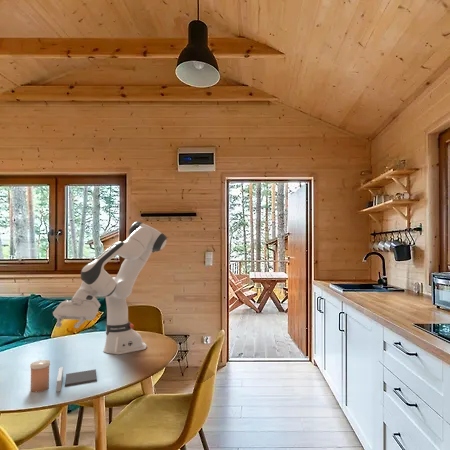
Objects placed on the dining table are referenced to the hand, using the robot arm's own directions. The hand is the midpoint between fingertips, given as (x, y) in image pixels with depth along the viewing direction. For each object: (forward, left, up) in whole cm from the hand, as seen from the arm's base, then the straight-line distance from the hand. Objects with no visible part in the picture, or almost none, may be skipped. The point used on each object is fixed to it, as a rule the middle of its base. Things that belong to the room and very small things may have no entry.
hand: (66, 327), depth 143 cm
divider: (+2, +7, -21) cm, 22 cm away
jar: (+9, +9, -21) cm, 25 cm away
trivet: (-6, +5, -21) cm, 23 cm away
